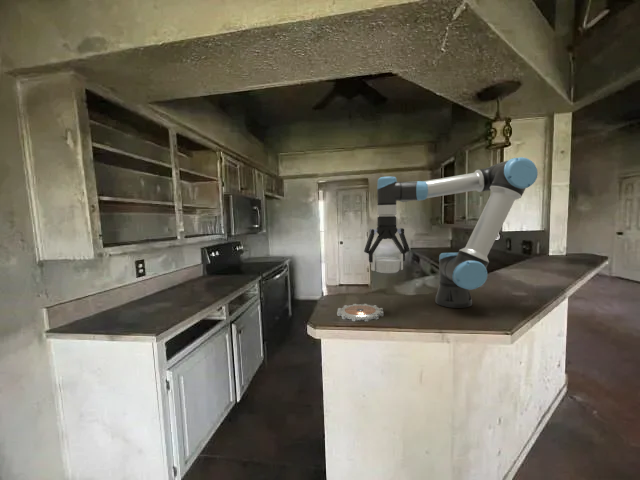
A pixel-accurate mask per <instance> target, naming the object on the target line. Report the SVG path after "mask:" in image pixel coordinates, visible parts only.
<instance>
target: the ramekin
mask: <svg viewBox="0 0 640 480" xmlns="http://www.w3.org/2000/svg"><path fill="white" fill-rule="evenodd" d="M400 262H401V259H400V258H399V257H397V256H377V257H375V271H376V272H377V273H382V274H396V273H398V272H399V271H400V269H399V268H400Z"/></svg>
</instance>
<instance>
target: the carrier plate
mask: <svg viewBox="0 0 640 480" xmlns="http://www.w3.org/2000/svg"><path fill="white" fill-rule="evenodd" d="M336 315H337V316H338V317H341V319H342V320H350V321H352V322H356V321H360V322H361V321H362V322H363V321H364V322H369V321H371V320H379V317H384V315H385V313H384V309H383V307H378V305H372V304H368V303H361V304H360V303H359V304H357V303H353V304H349V305H346V304H345V305H343V306H342V307H338V308H337V312H336Z"/></svg>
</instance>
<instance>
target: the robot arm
mask: <svg viewBox="0 0 640 480" xmlns="http://www.w3.org/2000/svg"><path fill="white" fill-rule="evenodd" d="M538 175H539V174H538V168H537V166H536V164H535V163H534V162H533V161H532V160H531V159H529V158H527V157H523V156H521V157H514V158H510V159H508V160H505V161H502V162H499V163H496V164H494V165H491V166H488V167H484V168H480V169H476V170H474V172H471V173H465V174H459V175H453V176H447V177H442V178H441V177H440V178H436V179H435V178H434V179H429V180H428V179H427V180H422V181H421V180H417V181H415V180H414V181H398V180H397V177H396V176H391V175H390V176H381V177H379V178H378V179H377V185H376V186H377V187H376V191H377V192H376V194H377V195H376V196H377V198H376V200H377V203H376V204H377V207H376V208H377V210H376V211H377V215H378V216H377V223H376V225H377V228H376V229H375V228H370V229H369V235H368V239H367V240H366V243H365V248H364V250H363V252H364V253H366V254H367V255H368V262H369V263H370V271H372V272H373V271H374V272H375V271H376V270H375V256H376V255H375V254H374V253H375V251H376V250H377V248H378V247H379V245H380V243H381V242H382V241H383V240H387V239H389V240H392V242H393V243H394V244H395V245H396V247H397V249H398V250H399V252H398V258H400V259H401V262H400V268H399V270H401V271H402V270H403V269H404V262H405V261H406V254H407V252H409V253H410V251H411V250H410V247H409V244H408V241H407V237H406V236H405V229H404V228H402V227H400V228H397V216H396V215H397V201H398V202H402V203H407V202H412V201H417V202H418V201H425V200H426V199H429V198H430V199H431V198H435V197H441V196H442V197H443V196H448V195H454V194H462V193H466V192H467V193H468V192H472V191H473V192H474V191H476V192H478V193H482V192H491V193H490V195H489V198H488V200H487V201H486V203H485V205H484V208H483V210H482V212H481V214H480V216H479V217H478V220H477V223H476V225H475V227H474V228H473V230H472V232H471V234H470V236H469V239H468V240H467V243H466V245H465V247H463V248H461V249H460V248H459V250H458V252H441V253H440V254H439V256H438V257H439V259H438V262H439V263H438V265H439V269H438V270H439V276H438V277H439V286H438V289H437V293H436V295H435V303H436V304H437V305H439V306H442V307H445V308H446V307H447V308H453V309H462V308H463V309H465V308H470V307H471V306H473V299H472V295H471V293H470V290H476V289H478V288H480V287H482V286H483V285H484V284H485V283H486V281H487V280H488V270H487V268H488V266H489V263H490V261H489V258H488V256H489V253H490V251H491V249H492V247H493V245H494V243H495V241H496V239H497V237H498V236H499V233H500V232H501V229H502V227H503V226H504V222H505V221H506V219H507V217H508V215H509V212H510V211H511V208H512V207H513V205H514V203H515V201H517V200H519V199H521V198H522V196H523V194H524V193H525V191H526V189H527V188H528V189H529V188H530V187H531V186H533V185H534V183H536V180H537V178H538ZM376 234H377V237H376V239H375V241H374V243H373V240H374V237H375V235H376ZM396 234H398V235H399V238H400V240H401V242H400V240H398V237H397V236H396ZM372 243H373V244H372Z"/></svg>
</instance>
